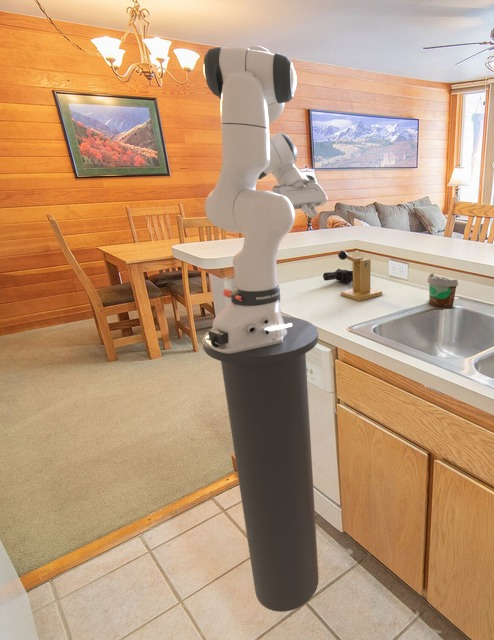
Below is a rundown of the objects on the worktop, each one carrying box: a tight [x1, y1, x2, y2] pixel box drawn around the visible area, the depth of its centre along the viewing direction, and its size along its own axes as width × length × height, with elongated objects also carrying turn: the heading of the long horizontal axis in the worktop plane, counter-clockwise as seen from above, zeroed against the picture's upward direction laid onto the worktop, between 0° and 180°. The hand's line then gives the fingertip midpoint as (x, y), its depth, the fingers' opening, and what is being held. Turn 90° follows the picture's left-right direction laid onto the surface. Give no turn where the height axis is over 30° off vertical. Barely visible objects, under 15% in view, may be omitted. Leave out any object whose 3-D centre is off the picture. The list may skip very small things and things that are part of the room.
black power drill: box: [322, 268, 353, 284], centre depth 180 cm, size 5×20×15 cm
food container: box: [426, 272, 459, 309], centre depth 155 cm, size 12×6×10 cm, turn 42°
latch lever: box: [337, 250, 361, 266], centre depth 157 cm, size 13×3×3 cm, turn 137°
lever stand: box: [340, 256, 383, 302], centre depth 163 cm, size 12×10×14 cm
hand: (314, 216), depth 155 cm, fingers closed
